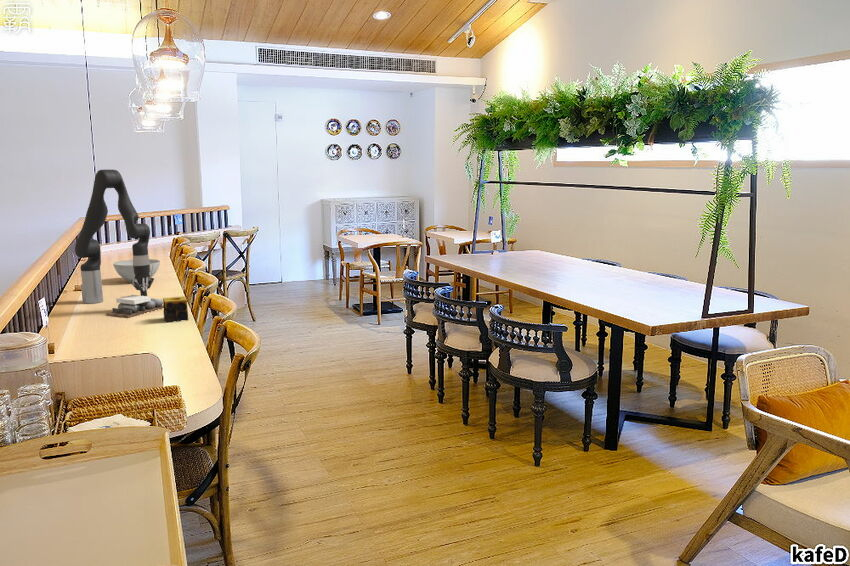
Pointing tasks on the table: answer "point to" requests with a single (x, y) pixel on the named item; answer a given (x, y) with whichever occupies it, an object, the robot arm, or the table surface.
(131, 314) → the roller bed
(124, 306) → the roller
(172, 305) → the black and yellow cube
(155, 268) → the decorative bowl
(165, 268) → the table surface
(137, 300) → the slab
